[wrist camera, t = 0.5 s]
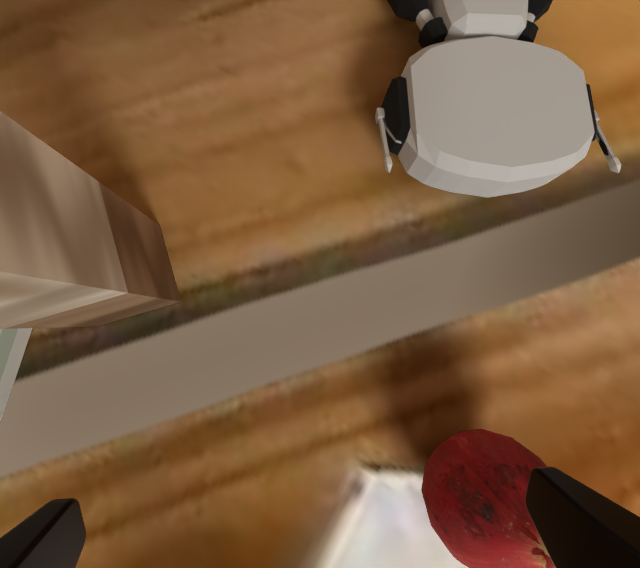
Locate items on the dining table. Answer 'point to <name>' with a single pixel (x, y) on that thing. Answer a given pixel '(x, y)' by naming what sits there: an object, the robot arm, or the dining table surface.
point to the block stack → (71, 243)
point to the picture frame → (10, 360)
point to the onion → (484, 501)
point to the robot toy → (486, 101)
